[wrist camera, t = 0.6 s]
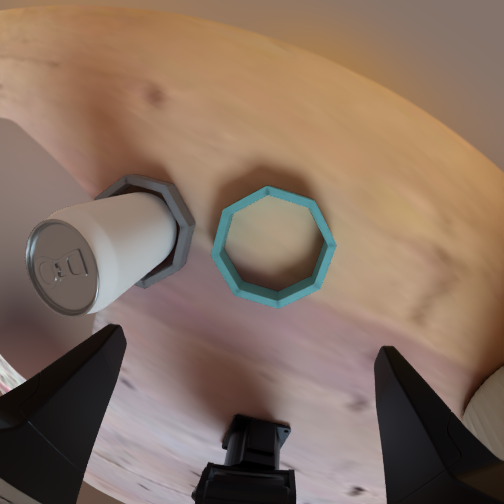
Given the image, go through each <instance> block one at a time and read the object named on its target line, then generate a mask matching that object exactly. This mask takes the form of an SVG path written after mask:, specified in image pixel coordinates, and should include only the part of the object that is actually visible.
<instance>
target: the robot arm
mask: <svg viewBox="0 0 504 504" xmlns="http://www.w3.org/2000/svg"><path fill="white" fill-rule="evenodd" d="M126 345H127V343H126V338H125V336H124V333H123V330H122V327H121V326H120V325H118V324H112V323H111V324H108V325H107V326H105V327H104V328H102V329H101V330H99V331H98V332H96V333H95V334H94V335H92V336H91V337H89V338H88V339H86V340H85V341H83V342H82V343H80V344H79V345H78V346H76V347H75V348H73V349H72V350H70V351H69V352H67V353H66V354H65V355H63V356H62V357H60V358H59V359H57V360H56V361H54V362H53V363H52V364H50V365H49V366H47V367H46V368H44V369H43V370H42V371H41V372H39V373H37V374H36V375H35V376H33V377H32V378H30V379H29V380H27V381H26V382H24V383H23V384H21V385H19V386H18V387H16V388H14V389H13V390H11V391H9V392H8V393H6V394H4V395H3V396H1V397H0V504H76V501H77V498H78V494H79V491H80V487H81V484H82V481H83V478H84V473H85V471H86V467H87V464H88V461H89V458H90V455H91V452H92V449H93V446H94V443H95V440H96V437H97V434H98V431H99V428H100V426H101V423H102V420H103V417H104V414H105V412H106V409H107V406H108V403H109V401H110V398H111V395H112V393H113V390H114V388H115V385H116V382H117V379H118V375H119V371H120V368H121V364H122V360H123V357H124V353H125V350H126ZM374 375H375V395H376V409H377V416H378V423H379V431H380V438H381V446H382V454H383V463H384V473H385V484H386V497H387V504H504V461H503V460H501V459H500V458H498V457H497V456H495V455H494V454H493V453H492V452H491V451H490V450H489V449H488V448H487V447H486V446H485V445H484V444H483V443H482V442H481V441H480V440H478V439H477V438H476V437H475V436H474V435H473V434H472V433H471V432H470V431H469V430H468V429H467V428H466V427H465V425H464V424H463V423H462V422H461V421H460V420H459V419H458V418H457V417H456V415H455V414H454V413H453V412H451V410H450V409H449V407H448V406H447V405H446V404H445V403H444V402H443V401H442V399H441V398H440V397H439V396H438V395H437V394H436V393H435V391H434V390H433V389H432V388H431V387H430V386H429V385H428V384H427V382H426V381H425V380H424V379H423V378H422V377H421V376H420V375H419V373H418V372H417V371H416V370H415V369H414V368H413V367H412V366H411V365H410V364H409V362H408V361H407V360H406V359H405V358H404V357H403V356H402V355H401V354H400V353H399V351H398V350H397V349H396V348H395V347H394V346H382V347H381V348H380V351H379V353H378V355H377V358H376V360H375V363H374ZM237 418H238V419H237ZM290 432H291V428H290V427H289V426H284V425H280V424H275V423H271V422H266V421H262V420H258V419H254V418H250V417H246V416H242V415H238V414H237V415H234V417H233V419H232V422H231V424H230V427H229V429H228V432H227V434H226V436H225V439H224V441H223V444H222V448H223V449H225V450H227V453H226V458H225V463H224V465H219V464H214V463H211V462H208V464H207V467H205V468H204V470H203V472H202V475H201V478H200V481H199V483H198V485H197V487H196V488H195V489H194V491H193V492H192V496H191V497H192V499H193V500H194V501H195V504H296V485H295V474H294V470H290V469H289V470H279V458H280V449H281V447H282V445H283V444H284V442H285V441H286V439H287V437H288V436H289V434H290Z"/></svg>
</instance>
